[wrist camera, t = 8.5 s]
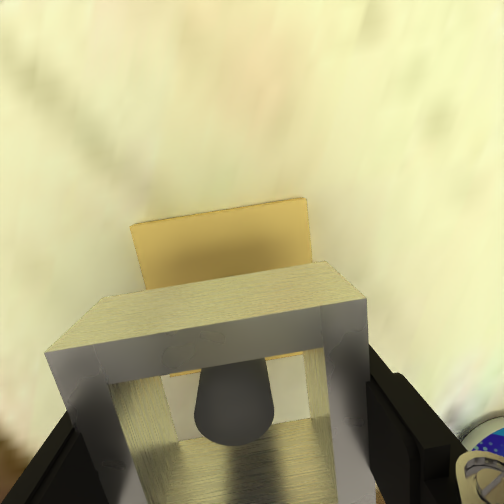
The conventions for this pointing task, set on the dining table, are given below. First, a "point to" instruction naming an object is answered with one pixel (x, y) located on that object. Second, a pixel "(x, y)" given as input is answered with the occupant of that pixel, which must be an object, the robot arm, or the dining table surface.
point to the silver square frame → (214, 354)
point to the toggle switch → (219, 266)
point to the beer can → (487, 437)
